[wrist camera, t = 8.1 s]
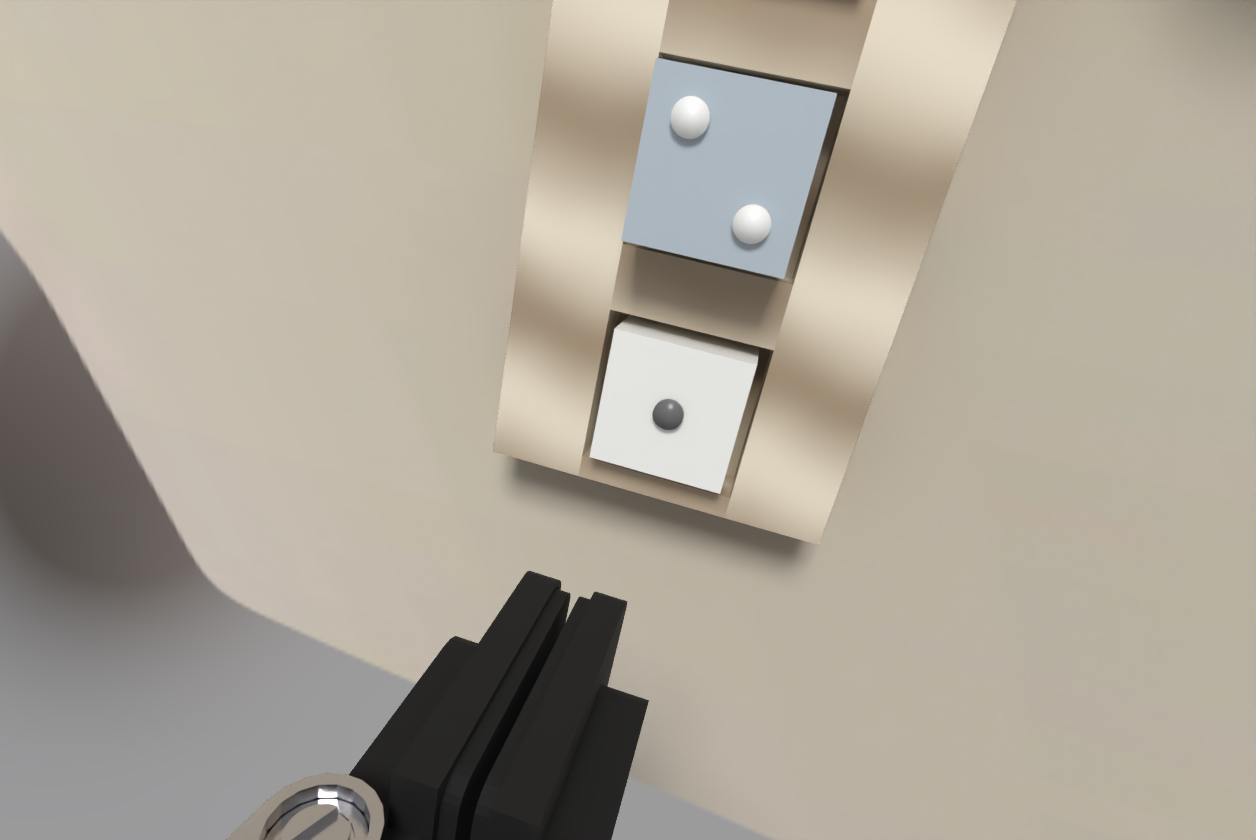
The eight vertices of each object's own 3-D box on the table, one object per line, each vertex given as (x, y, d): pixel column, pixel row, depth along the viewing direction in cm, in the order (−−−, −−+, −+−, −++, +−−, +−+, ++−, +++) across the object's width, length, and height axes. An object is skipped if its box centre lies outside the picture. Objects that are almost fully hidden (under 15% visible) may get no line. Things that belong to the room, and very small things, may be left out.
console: (815, 512, 25) (818, 544, 23) (517, 428, 27) (493, 451, 24) (1080, -236, 17) (1126, -299, 14) (623, -295, 18) (600, -359, 16)
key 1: (726, 465, 24) (719, 496, 22) (606, 432, 25) (587, 459, 23) (759, 346, 23) (756, 366, 20) (630, 314, 23) (613, 329, 21)
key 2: (783, 267, 20) (783, 280, 18) (638, 233, 21) (619, 241, 18) (831, 102, 18) (837, 92, 16) (671, 70, 19) (654, 56, 17)
